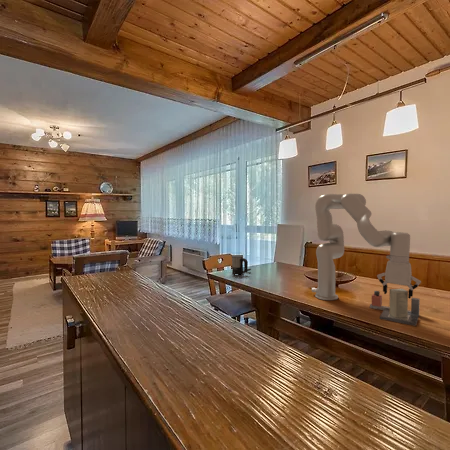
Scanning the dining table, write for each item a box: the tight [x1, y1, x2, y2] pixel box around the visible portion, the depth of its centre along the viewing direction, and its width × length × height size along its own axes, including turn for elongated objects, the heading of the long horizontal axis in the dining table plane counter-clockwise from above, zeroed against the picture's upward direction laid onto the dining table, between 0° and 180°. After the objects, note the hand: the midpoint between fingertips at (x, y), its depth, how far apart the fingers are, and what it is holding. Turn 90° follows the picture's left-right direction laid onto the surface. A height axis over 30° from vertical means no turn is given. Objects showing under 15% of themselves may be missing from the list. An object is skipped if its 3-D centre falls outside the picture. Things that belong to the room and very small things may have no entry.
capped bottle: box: [371, 290, 383, 307], centre depth 145 cm, size 4×4×7 cm
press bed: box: [379, 310, 419, 327], centre depth 131 cm, size 14×10×1 cm
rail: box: [369, 297, 420, 318], centre depth 140 cm, size 21×3×8 cm, turn 51°
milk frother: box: [231, 255, 252, 275], centre depth 231 cm, size 14×16×15 cm
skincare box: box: [388, 288, 409, 317], centre depth 131 cm, size 6×4×12 cm
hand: (397, 295), depth 131 cm, fingers open, 9 cm apart
